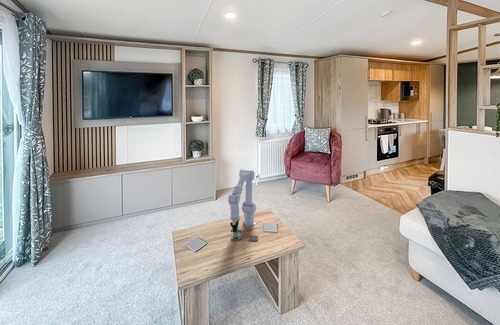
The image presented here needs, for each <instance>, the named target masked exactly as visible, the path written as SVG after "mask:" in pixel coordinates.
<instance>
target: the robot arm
mask: <svg viewBox="0 0 500 325" xmlns="http://www.w3.org/2000/svg"><path fill="white" fill-rule="evenodd" d="M238 172H239V174H238V175H239V179H238V182H237V184H236V185H235V186H234V188H233V190H232V192H231V194H229V195H228V204H229V207H230V208H229V209H230V216H229V217H228V218H229V219H230V220H231V222H230V223H229V224H230V227H231V229H233V232H237V227H238V228H239V224H240V223H239V222H240V219H241V216H240V205H239V203H240V200H241V195H242V192H243V187H244V184H245V200H244V201H243V202H242V207H241V211H242V212H243V215H244V216H243V220H242V222H243V223H244V225H245V227H247V226H255V225H256V222H255V215H254V214H255V213H256V211H257V206H256V202H255V201H253V181H254V180H255V171H254V170H253V169H244V168H241V169H240V170H239V171H238ZM233 232H232V233H233Z"/></svg>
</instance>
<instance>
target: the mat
mask: <svg viewBox="0 0 500 325" xmlns="http://www.w3.org/2000/svg"><path fill="white" fill-rule="evenodd" d="M248 242H259V235H249V236H248Z"/></svg>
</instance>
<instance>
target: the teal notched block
mask: <svg viewBox="0 0 500 325" xmlns="http://www.w3.org/2000/svg"><path fill="white" fill-rule="evenodd" d="M238 229H239V226H238V227H237V232H232V234H233V237H238V235H239V233H240V232H238Z"/></svg>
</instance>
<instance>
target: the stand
mask: <svg viewBox="0 0 500 325" xmlns="http://www.w3.org/2000/svg"><path fill="white" fill-rule="evenodd" d="M238 232H239V233H242V229H239V228H238ZM230 233H233V229H232V228H231V229H230ZM230 241H242V235H241V234H240V235H239V234H238V237H233V235H231V236H230Z"/></svg>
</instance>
